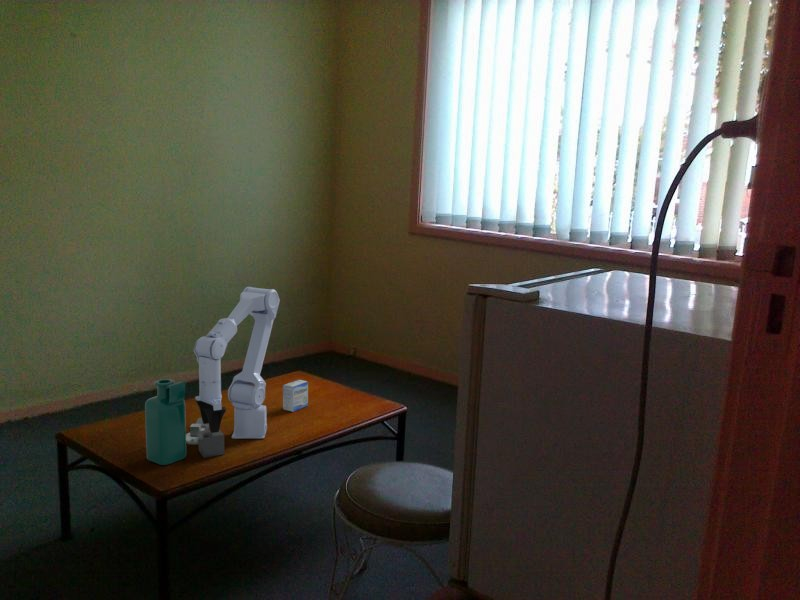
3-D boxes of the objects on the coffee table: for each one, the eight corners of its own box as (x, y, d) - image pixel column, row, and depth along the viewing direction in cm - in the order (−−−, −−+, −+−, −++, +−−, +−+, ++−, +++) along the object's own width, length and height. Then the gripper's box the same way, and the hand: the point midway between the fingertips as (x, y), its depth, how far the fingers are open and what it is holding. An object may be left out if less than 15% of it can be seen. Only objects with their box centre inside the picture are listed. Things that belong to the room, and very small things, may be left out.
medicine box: (293, 412, 232) (293, 387, 231) (282, 409, 235) (282, 384, 233) (308, 406, 239) (308, 381, 237) (298, 403, 241) (298, 379, 240)
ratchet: (194, 424, 219) (194, 409, 219) (214, 424, 220) (214, 409, 219) (183, 445, 203) (182, 429, 202) (204, 444, 203) (204, 428, 202)
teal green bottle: (143, 459, 192) (140, 380, 188) (169, 449, 199) (167, 374, 195) (167, 468, 186) (164, 388, 183) (192, 458, 193) (190, 380, 189)
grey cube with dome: (218, 447, 201) (218, 428, 200) (224, 454, 197) (224, 434, 196) (198, 450, 199) (198, 431, 198) (204, 458, 194) (203, 437, 193)
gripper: (188, 375, 198) (189, 421, 200) (202, 389, 186) (203, 438, 188) (213, 372, 202) (214, 417, 204) (228, 386, 189) (229, 434, 192)
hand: (210, 427), depth 196 cm, fingers open, 7 cm apart
